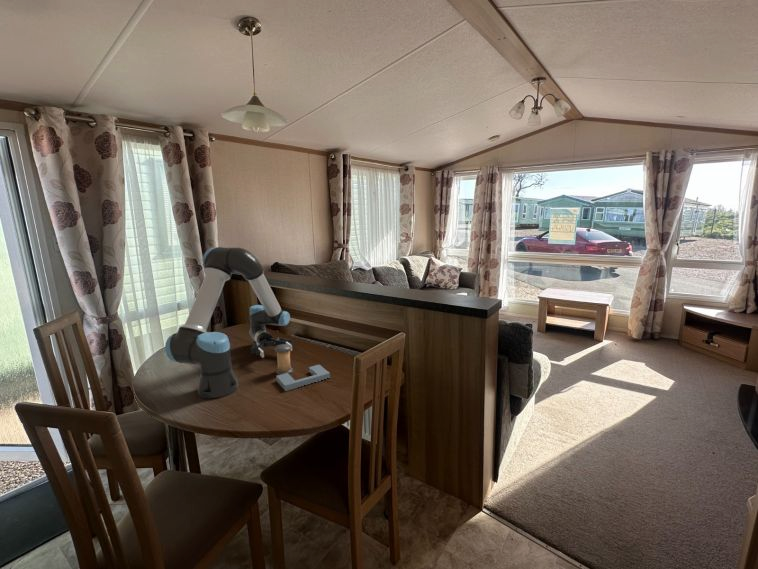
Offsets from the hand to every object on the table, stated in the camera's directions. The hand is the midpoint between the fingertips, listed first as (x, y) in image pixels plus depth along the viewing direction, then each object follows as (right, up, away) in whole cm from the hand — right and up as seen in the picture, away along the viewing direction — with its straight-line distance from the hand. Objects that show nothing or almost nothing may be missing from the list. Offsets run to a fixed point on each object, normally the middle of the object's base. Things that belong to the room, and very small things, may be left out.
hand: (277, 351), depth 168 cm
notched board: (+15, -10, -14) cm, 23 cm away
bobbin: (+5, -8, -6) cm, 11 cm away
